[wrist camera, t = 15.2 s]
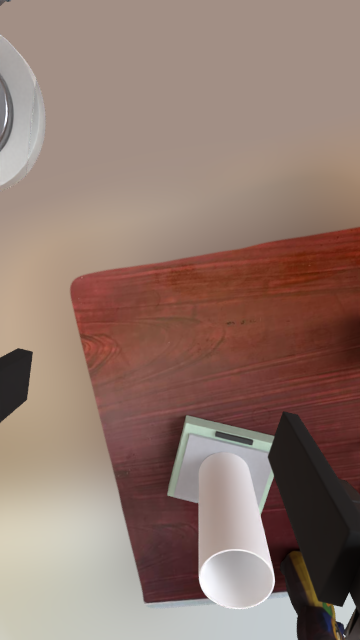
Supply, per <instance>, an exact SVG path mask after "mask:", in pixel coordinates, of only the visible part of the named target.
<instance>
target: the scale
mask: <svg viewBox="0 0 360 640" xmlns="http://www.w3.org/2000/svg"><path fill="white" fill-rule="evenodd" d="M274 437H275V436H272V435H267V434H263V433H259V432H255V431H251V430H246V429H242V428H238V427H234V426H229V425H225V424H221V423H217V422H213V421H208V420H204V419H200V418H196V417H191V416H187V415H186V419H185V423H184V426H183V430H182V434H181V438H180V442H179V446H178V450H177V454H176V458H175V462H174V466H173V470H172V474H171V478H170V482H169V487H168V496H172V497H175V498H179V499H183V500H188V501H192V502H196V503H199V468H200V466H201V464H202V462H203V461H204V460H205V459H206V458H207V457H209V456H210V455H212V454H215V453H219V452H229V453H233V454H235V455H237V456H239V457H241V458H242V459H243V460H244V461H245V462H246V464H247V465H248V468H249V471H250V475H251V479H252V483H253V488H254V492H255V496H256V500H257V504H258V508H259V512H260V515H261V512H262V509H263V506H264V503H265V500H266V497H267V494H268V491H269V489H270V486H271V483H272V480H273V477H274V474H273V471H272V469H271V466H270V463H269V460H268V454H269V451H270V448H271V445H272V442H273V439H274Z"/></svg>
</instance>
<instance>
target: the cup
mask: <svg viewBox="0 0 360 640" xmlns="http://www.w3.org/2000/svg"><path fill="white" fill-rule="evenodd" d="M199 582H200V586H201V588H202V590H203V592H204V593H205V595H206V596H207V597H208V598H209V599H210V600H212V601H213V602H215V603H216V604H218V605H221V606H223V607H227V608H231V609H246V608H250V607H254V606H256V605H258V604H260V603H262V602H263V601H264V600H266V599H267V598H268V597H269V595H270V594H271V592H272V590H273V588H274V583H275V578H274V571H273V567H272V563H271V558H270V554H269V550H268V546H267V542H266V537H265V533H264V529H263V525H262V521H261V517H260V512H259V508H258V504H257V500H256V496H255V492H254V488H253V483H252V479H251V475H250V471H249V468H248V465H247V464H246V462H245V461H244V460H243V459H242V458H241V457H239V456H237V455H235V454H233V453H229V452H219V453H215V454H212V455H210V456H209V457H207V458H206V459H205V460H204V461H203V462H202V464H201V466H200V468H199Z"/></svg>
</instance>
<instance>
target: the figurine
mask: <svg viewBox="0 0 360 640" xmlns="http://www.w3.org/2000/svg"><path fill="white" fill-rule="evenodd" d="M280 571H281V573H282V574H283V575H285V581H286V588H287V592H288V595H289V597H290V600H291V603H292V605H293V607H294V609H295V611H296V613H297V615H298V618H297V638H298V640H345V638H344V636H343V633H344V631H345V629H344V625H343V624H341V623H340V622H337V621H336V619H335V611H334V606H333V605H332V604H328V603H324V602H319V601H318V599H317V597H316V594H315V591H314V588H313V585H312V582H311V580H310V577H309V574H308V571H307V568H306V565H305V562H304V560H303V557H302V554H301V551H292V552H291V553H289V554H287V556H286V558H285V559H284V560H283V561H282V562H281V565H280Z"/></svg>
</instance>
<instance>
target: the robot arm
mask: <svg viewBox="0 0 360 640" xmlns="http://www.w3.org/2000/svg"><path fill="white" fill-rule="evenodd" d="M5 1H7V2H9V1H10V0H0V5H2V4H3V3H4V2H5ZM13 120H14V109H13V102H12V97H11V94H10V91H9V88H8V86H7V84H6V82H5V80H4V78H3V77H2V75H1V74H0V151H1V150H2V149H3V148H4V146H5V145H6V143H7V141H8V139H9V137H10V134H11V131H12V127H13ZM32 354H33V352H31V351H27V350H23V349H19V348H18V349H16V350H14V351H12V352H10V353H8V354H6V355H4V356H3V357H1V358H0V422H1V421H3V420H4V419H5V418H6V417H7V416H8V415H10V414H11V413H12V412H13V411H14V410H15V409H16V408H18V407H19V406H20V405H21V404H22V403H23V402H25V401H26V400H27V394H28V386H29V378H30V370H31V362H32ZM268 460H269V463H270V466H271V469H272V471H273V474H274V477H275V480H276V483H277V486H278V489H279V491H280V494H281V497H282V500H283V503H284V506H285V508H286V511H287V514H288V517H289V520H290V523H291V525H292V528H293V531H294V534H295V537H296V540H297V543H298V545H299V548H300V551H301V554H302V557H303V560H304V562H305V565H306V568H307V571H308V574H309V577H310V580H311V582H312V585H313V588H314V591H315V594H316V597H317V599H318V601H319V602H324V603H328V604H332V605H336V606H340V607H342V606H343V604H344V602H345V600H346V598H347V596H348V594H349V592H350V594H351V597H352V599H353V601H354V603H355V605H356V609H355V611H354V612H353V614H352V617H351V619H350V621H349V623H348V625H347V627H346V629H345V631H344V633H343V634H344V635H345V636H346V637H345V640H360V495H359V493H358V492H357V491H356V490H355V489H354V488H353V487H352V486H351V485H350V484H349V483H348V482H347V481H346V480H341V479H338V477H337V476H336V474H335V473H334V471H333V469H332V468H331V466H330V465H329V463H328V462H327V460H326V458H325V457H324V455H323V454H322V452H321V451H320V449H319V447H318V446H317V444H316V443H315V441H314V440H313V438H312V436H311V435H310V433H309V432H308V430H307V428H306V427H305V425H304V424H303V422H302V421H301V419H300V417H299V416H298V415H296V414H292V413H288V412H284V411H283V413H282V416H281V419H280V422H279V425H278V428H277V431H276V434H275V437H274V439H273V442H272V445H271V448H270V451H269V454H268Z"/></svg>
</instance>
